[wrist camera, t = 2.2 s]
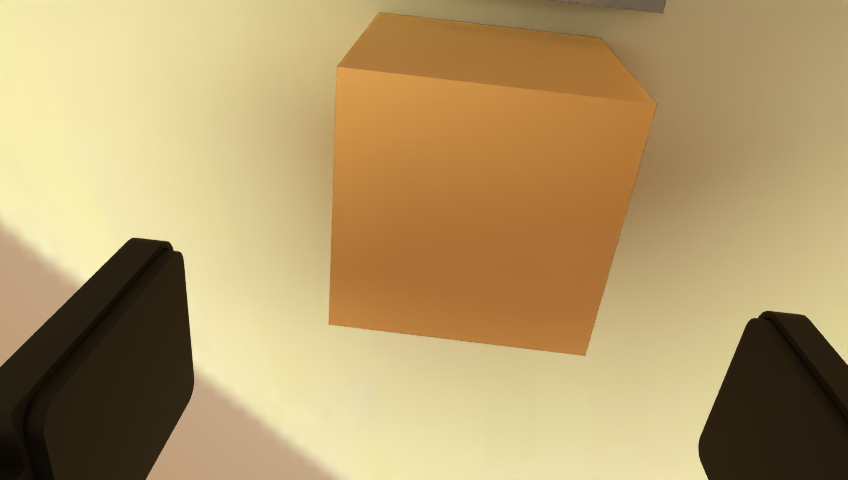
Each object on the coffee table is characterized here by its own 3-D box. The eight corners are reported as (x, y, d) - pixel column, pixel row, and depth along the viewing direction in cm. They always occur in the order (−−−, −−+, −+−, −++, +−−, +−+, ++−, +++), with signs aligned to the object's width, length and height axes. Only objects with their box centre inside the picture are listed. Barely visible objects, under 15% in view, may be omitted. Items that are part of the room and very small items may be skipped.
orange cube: (600, 38, 17) (656, 103, 12) (555, 233, 20) (585, 356, 15) (378, 12, 17) (337, 66, 12) (366, 210, 20) (328, 324, 15)
